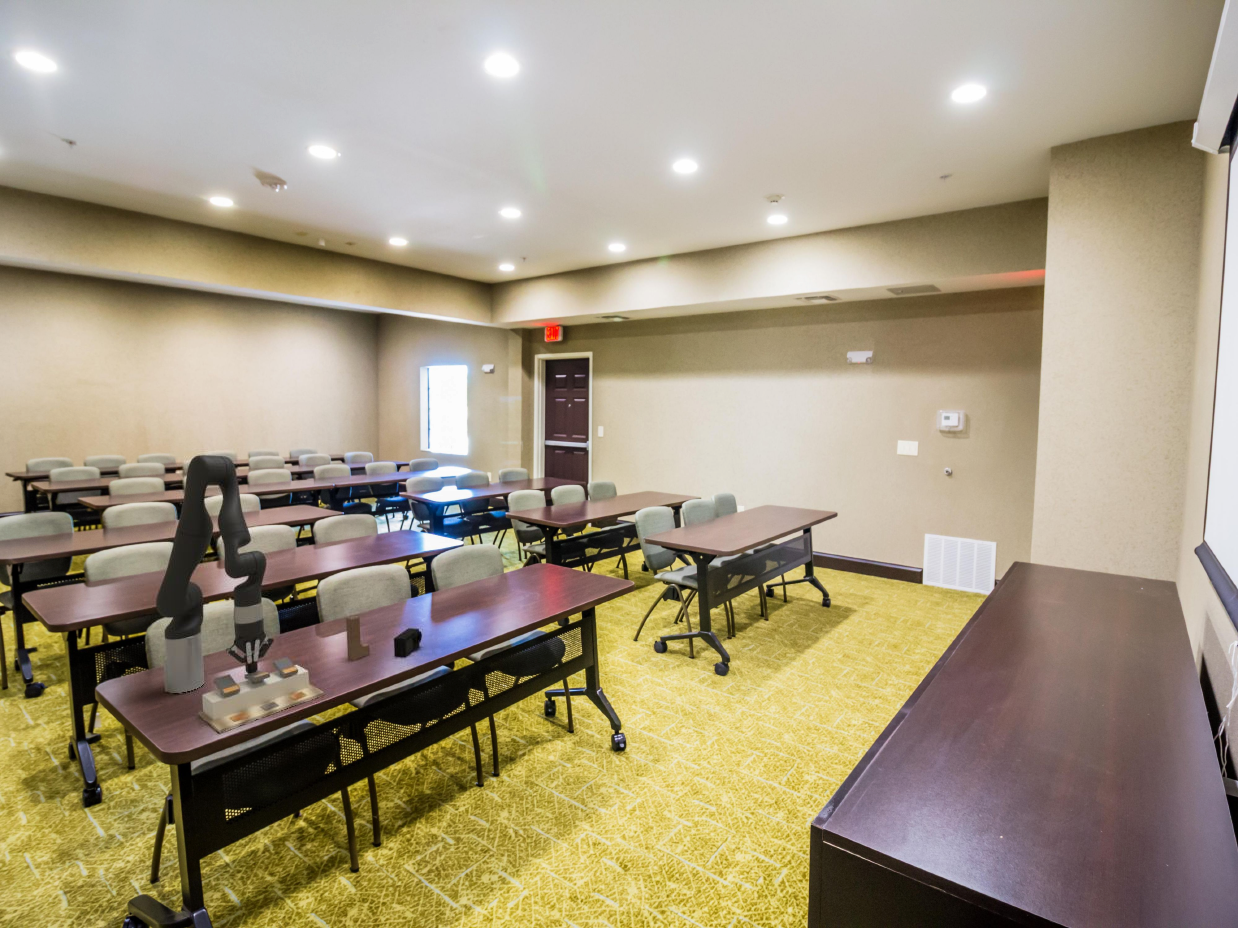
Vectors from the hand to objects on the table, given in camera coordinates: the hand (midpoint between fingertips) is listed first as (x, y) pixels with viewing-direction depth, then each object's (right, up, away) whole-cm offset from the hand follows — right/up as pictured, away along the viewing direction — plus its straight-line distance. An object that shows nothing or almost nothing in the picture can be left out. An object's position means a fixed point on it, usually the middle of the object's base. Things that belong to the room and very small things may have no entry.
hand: (252, 673), depth 181 cm
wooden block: (+19, -5, +31) cm, 37 cm away
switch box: (+3, -7, -2) cm, 8 cm away
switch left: (-2, 0, -9) cm, 9 cm away
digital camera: (+35, -5, +35) cm, 50 cm away
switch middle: (+3, 0, -3) cm, 4 cm away
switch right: (+8, +1, +3) cm, 9 cm away
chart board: (+6, -8, -4) cm, 11 cm away
